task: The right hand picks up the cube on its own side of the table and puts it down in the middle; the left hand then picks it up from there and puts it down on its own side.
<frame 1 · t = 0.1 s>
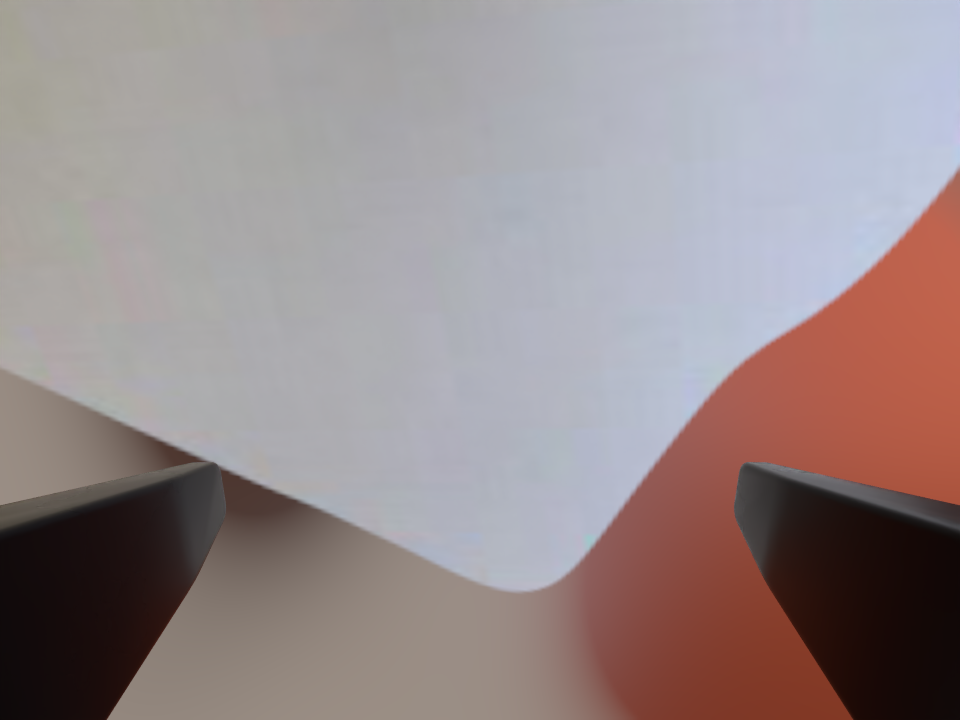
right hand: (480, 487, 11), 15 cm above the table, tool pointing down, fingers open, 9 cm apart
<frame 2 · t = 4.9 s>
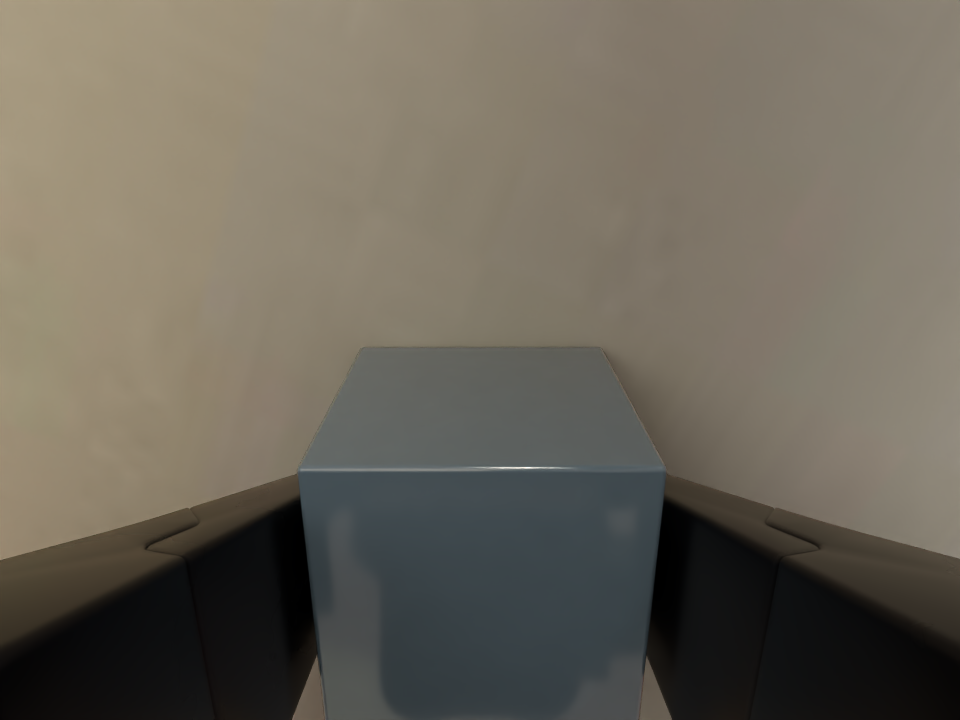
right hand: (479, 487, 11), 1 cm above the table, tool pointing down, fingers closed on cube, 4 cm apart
cube: (481, 459, 12), on the table, touching right hand
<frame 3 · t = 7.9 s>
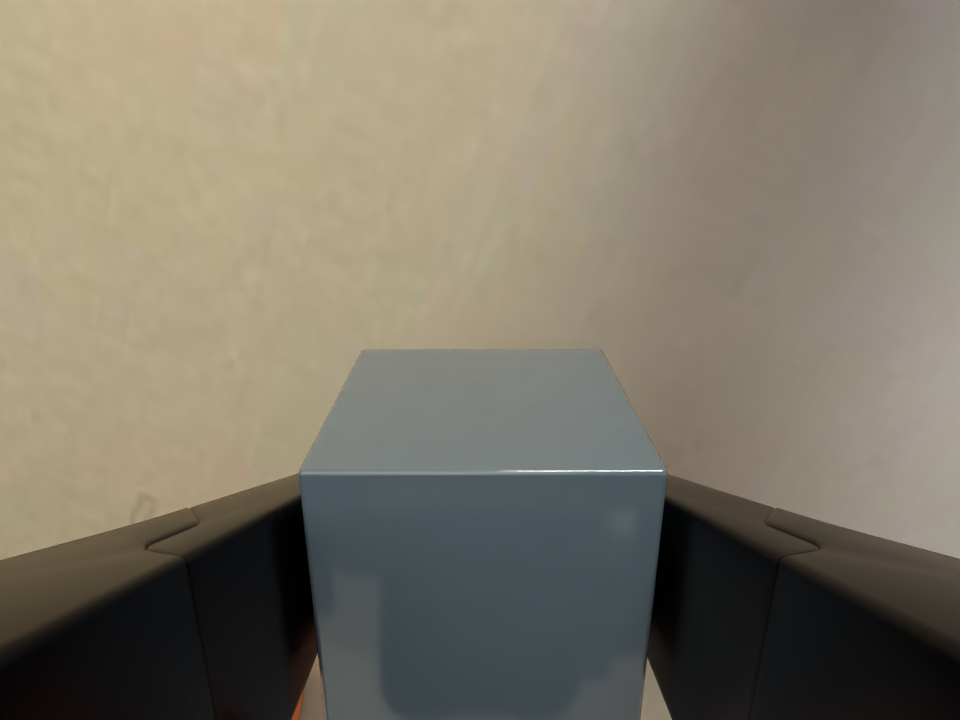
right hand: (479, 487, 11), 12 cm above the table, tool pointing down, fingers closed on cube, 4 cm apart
cube: (481, 461, 12), point 11 cm above the table, touching right hand
when the right hand's fingers open (2 cm above the table, at t = 11.0 s): cube stays where it is, on the table.
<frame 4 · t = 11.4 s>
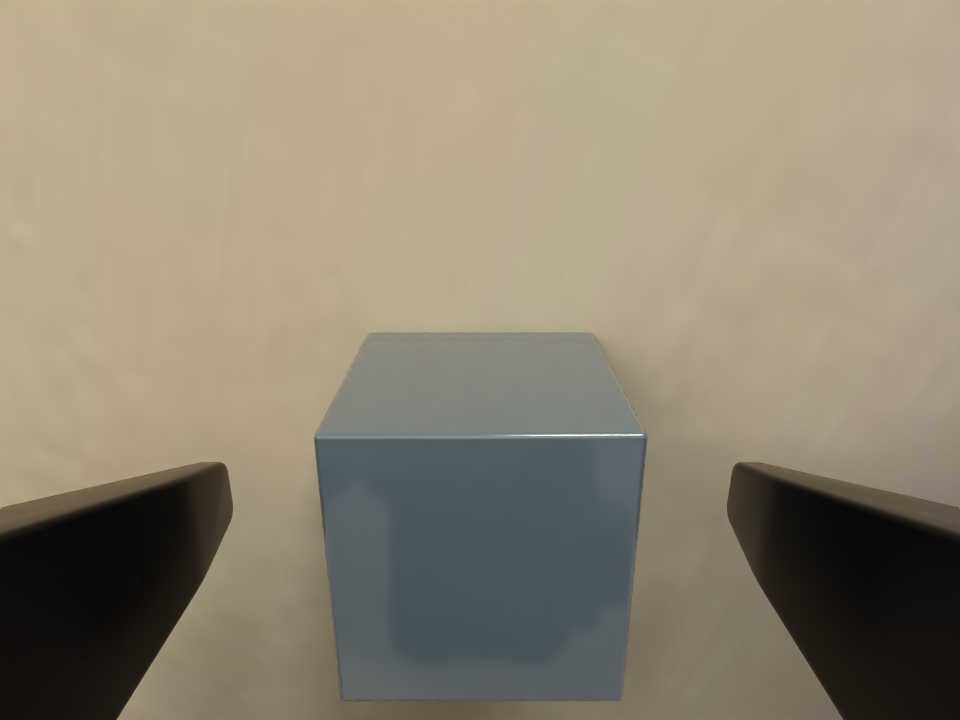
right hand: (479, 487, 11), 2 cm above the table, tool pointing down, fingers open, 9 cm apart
cube: (480, 438, 13), on the table
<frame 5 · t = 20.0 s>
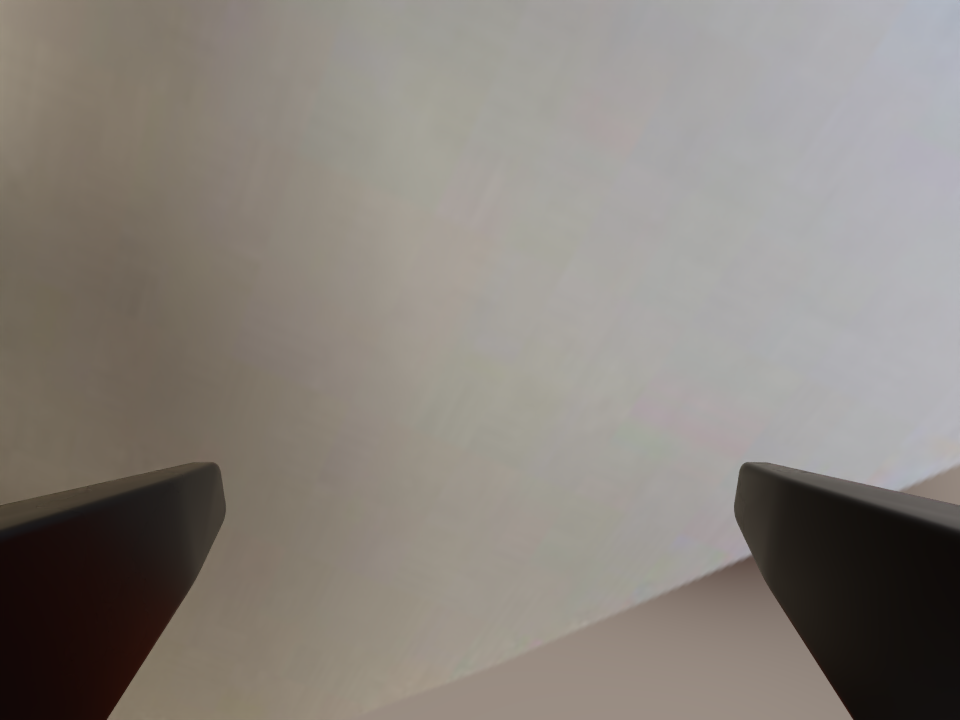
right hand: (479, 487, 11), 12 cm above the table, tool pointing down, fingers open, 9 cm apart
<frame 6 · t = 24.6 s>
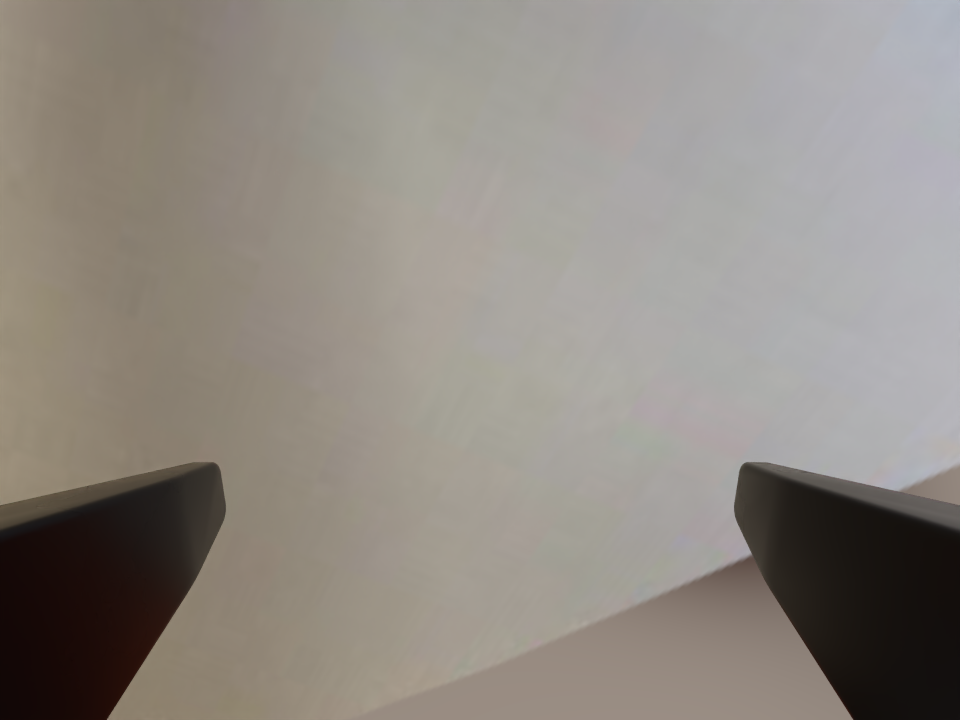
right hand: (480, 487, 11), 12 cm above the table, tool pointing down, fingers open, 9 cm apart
when the left hand's fingers open (3 cm above the table, at t = 29.1 s): cube stays where it is, on the table.
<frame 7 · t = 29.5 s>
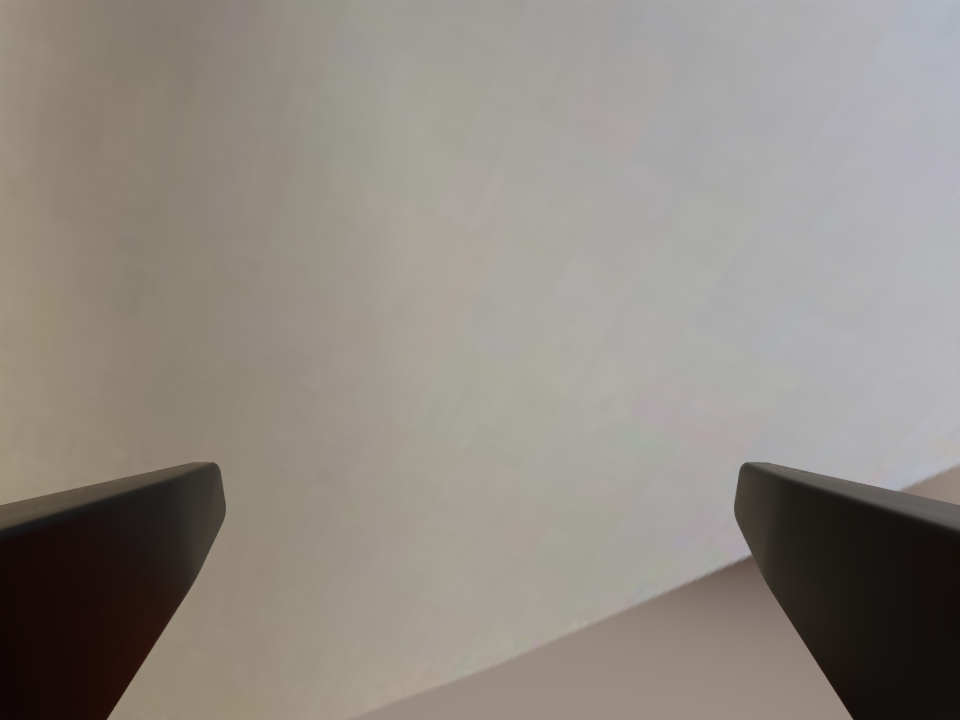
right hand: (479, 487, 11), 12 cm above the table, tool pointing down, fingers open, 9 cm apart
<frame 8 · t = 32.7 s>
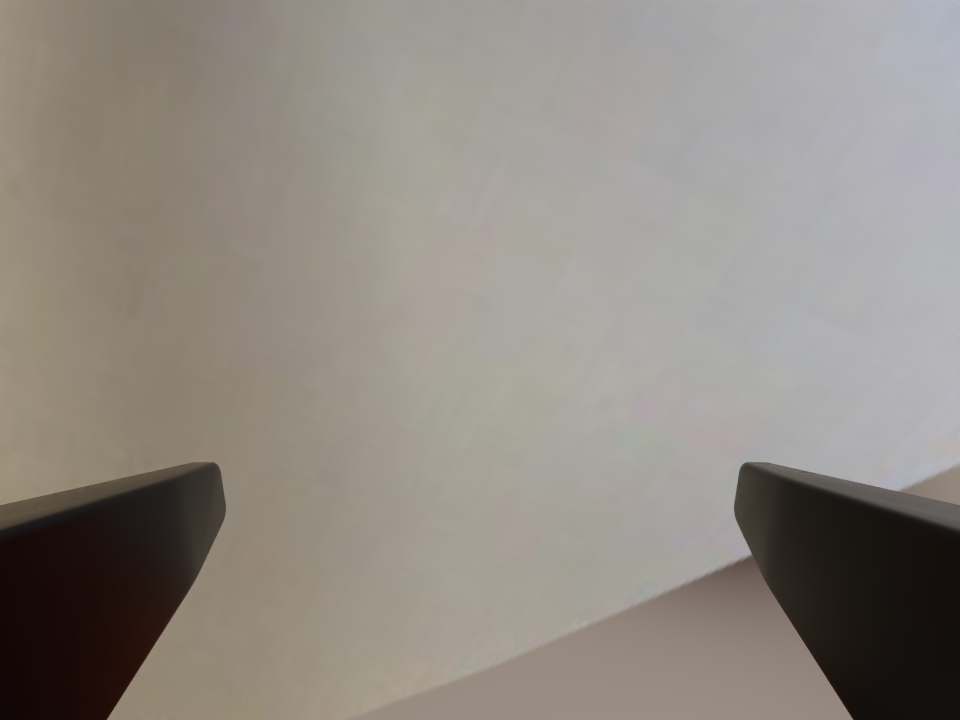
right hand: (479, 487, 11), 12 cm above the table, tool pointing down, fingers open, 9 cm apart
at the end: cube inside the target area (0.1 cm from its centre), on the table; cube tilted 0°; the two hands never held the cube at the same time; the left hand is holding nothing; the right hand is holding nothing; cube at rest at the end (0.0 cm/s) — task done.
